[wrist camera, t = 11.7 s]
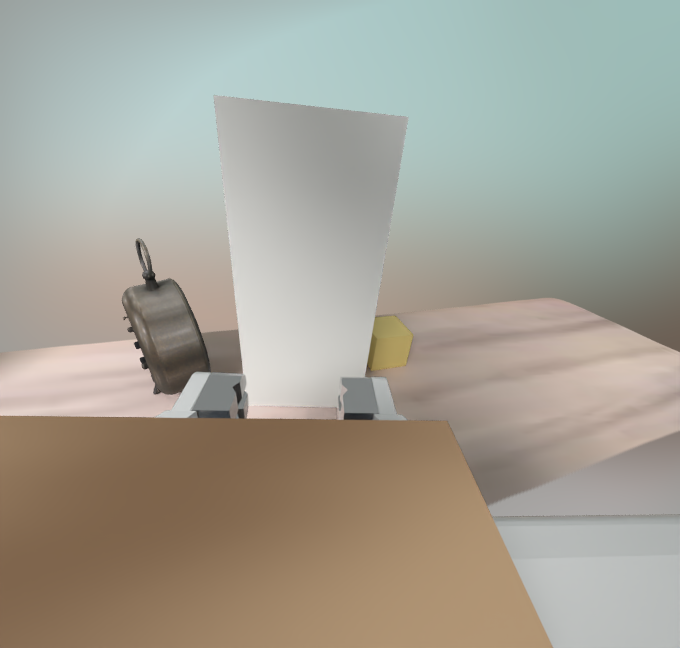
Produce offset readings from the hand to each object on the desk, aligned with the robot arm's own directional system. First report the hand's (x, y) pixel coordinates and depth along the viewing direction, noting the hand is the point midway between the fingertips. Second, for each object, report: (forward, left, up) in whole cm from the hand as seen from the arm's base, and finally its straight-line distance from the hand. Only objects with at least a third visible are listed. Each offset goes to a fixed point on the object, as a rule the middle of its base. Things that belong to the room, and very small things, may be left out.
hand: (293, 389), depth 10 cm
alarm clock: (-14, +18, -17) cm, 28 cm away
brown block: (0, -9, -6) cm, 11 cm away
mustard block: (+10, +25, -17) cm, 32 cm away
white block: (0, +21, -17) cm, 27 cm away
